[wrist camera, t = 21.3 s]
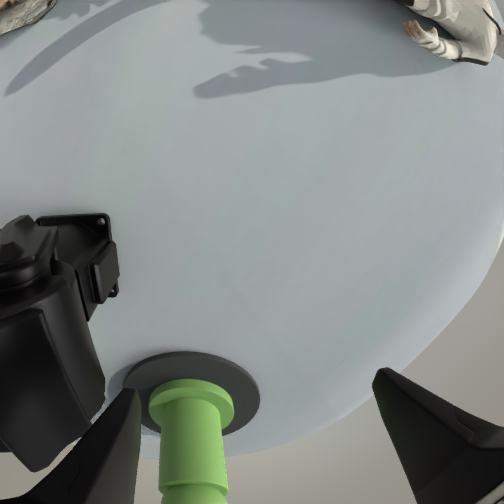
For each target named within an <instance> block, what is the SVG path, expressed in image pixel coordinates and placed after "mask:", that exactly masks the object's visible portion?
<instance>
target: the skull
mask: <svg viewBox="0 0 504 504" xmlns="http://www.w3.org/2000/svg"><path fill="white" fill-rule="evenodd" d="M50 1H51V0H0V35H2V33H5V32H8V31H10V30H13V29H16V28H19V27H22V26H25V25H27V24H33V23H36V22H38V21H39V20H40V19H42V18H43V17H44V16H45V15H46V14H47V13H48V12H49V10H50V9H51V8H52V7H53V6H54V5H55V3H56V0H53V1H52V3H51V6H49V5H50V4H49V2H50Z"/></svg>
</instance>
